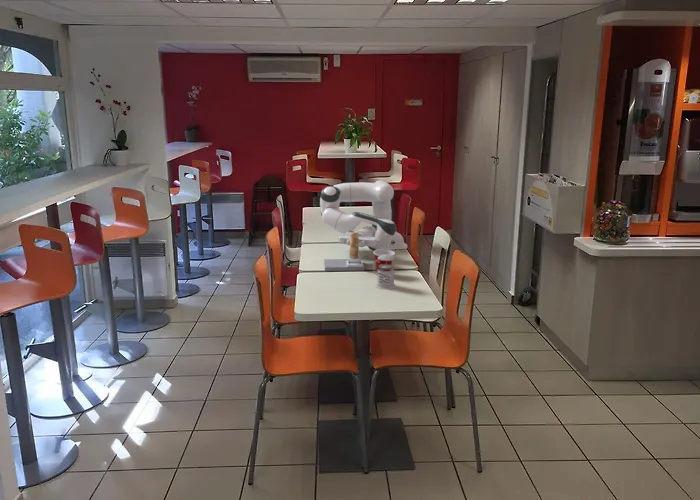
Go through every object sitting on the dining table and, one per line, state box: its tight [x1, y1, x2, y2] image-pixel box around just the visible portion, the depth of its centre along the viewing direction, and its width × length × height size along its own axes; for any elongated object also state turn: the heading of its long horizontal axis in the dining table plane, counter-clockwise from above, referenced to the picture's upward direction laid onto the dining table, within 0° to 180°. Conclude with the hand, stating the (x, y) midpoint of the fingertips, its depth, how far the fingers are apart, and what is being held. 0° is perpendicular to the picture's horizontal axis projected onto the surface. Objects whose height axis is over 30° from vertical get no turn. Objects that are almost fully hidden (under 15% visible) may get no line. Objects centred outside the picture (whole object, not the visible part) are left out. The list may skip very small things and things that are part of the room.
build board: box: [323, 258, 365, 272], centre depth 305 cm, size 20×16×3 cm
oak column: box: [349, 232, 360, 259], centre depth 299 cm, size 4×4×13 cm
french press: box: [372, 234, 397, 290], centre depth 270 cm, size 10×12×25 cm
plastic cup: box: [372, 249, 396, 277], centre depth 289 cm, size 11×11×12 cm
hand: (353, 243), depth 298 cm, fingers closed on oak column, 4 cm apart
